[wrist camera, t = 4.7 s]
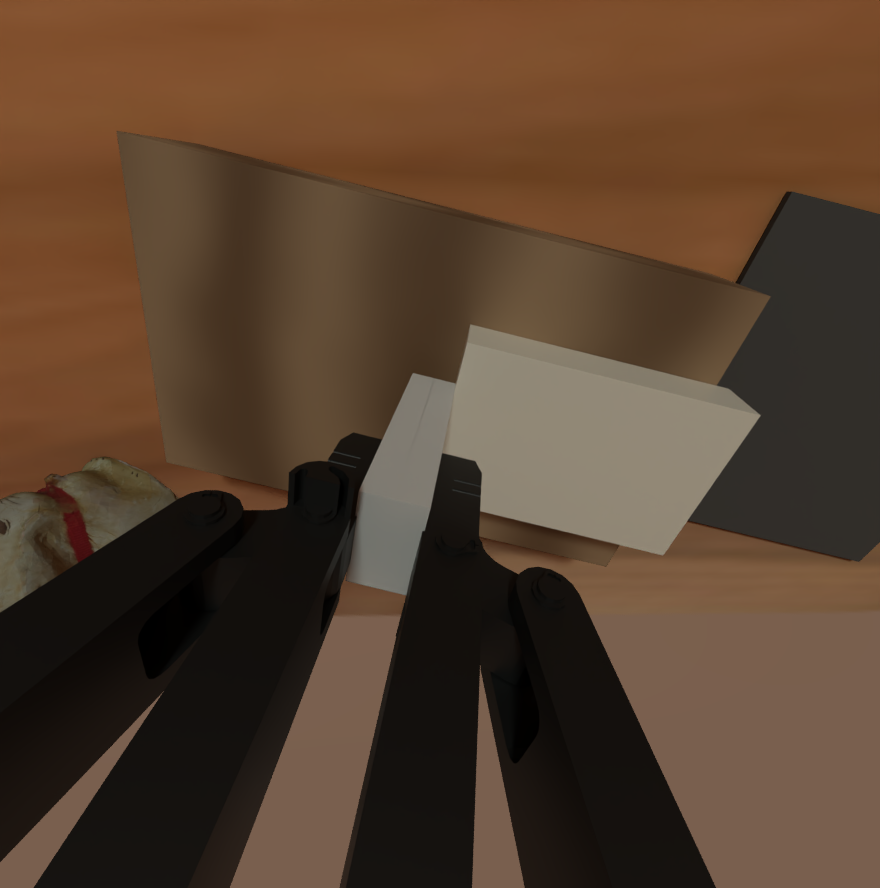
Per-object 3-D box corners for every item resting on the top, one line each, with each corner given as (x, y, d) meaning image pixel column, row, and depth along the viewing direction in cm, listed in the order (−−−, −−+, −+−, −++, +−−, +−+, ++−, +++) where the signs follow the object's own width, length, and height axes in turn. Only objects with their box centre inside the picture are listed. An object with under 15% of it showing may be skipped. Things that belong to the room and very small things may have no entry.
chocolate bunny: (147, 438, 23) (-55, 581, 15) (212, 544, 27) (83, 707, 18) (65, 449, 24) (-167, 590, 16) (139, 550, 28) (-15, 708, 20)
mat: (615, 499, 22) (616, 503, 22) (787, 191, 15) (791, 191, 14) (854, 557, 22) (858, 561, 22) (1139, 282, 15) (1150, 284, 15)
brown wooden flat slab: (216, 420, 22) (166, 462, 19) (197, 143, 16) (116, 130, 12) (588, 509, 22) (606, 566, 19) (712, 274, 16) (770, 296, 13)
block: (433, 468, 17) (426, 498, 16) (470, 324, 14) (467, 342, 12) (646, 519, 17) (663, 555, 16) (728, 388, 14) (760, 415, 13)
